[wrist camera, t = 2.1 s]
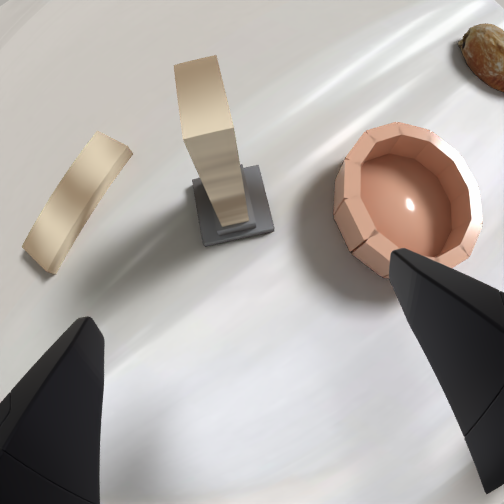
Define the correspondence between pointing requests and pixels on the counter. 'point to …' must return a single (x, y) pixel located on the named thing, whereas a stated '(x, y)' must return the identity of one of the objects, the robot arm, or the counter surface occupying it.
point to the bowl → (406, 198)
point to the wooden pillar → (218, 158)
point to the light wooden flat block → (75, 200)
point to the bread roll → (485, 53)
